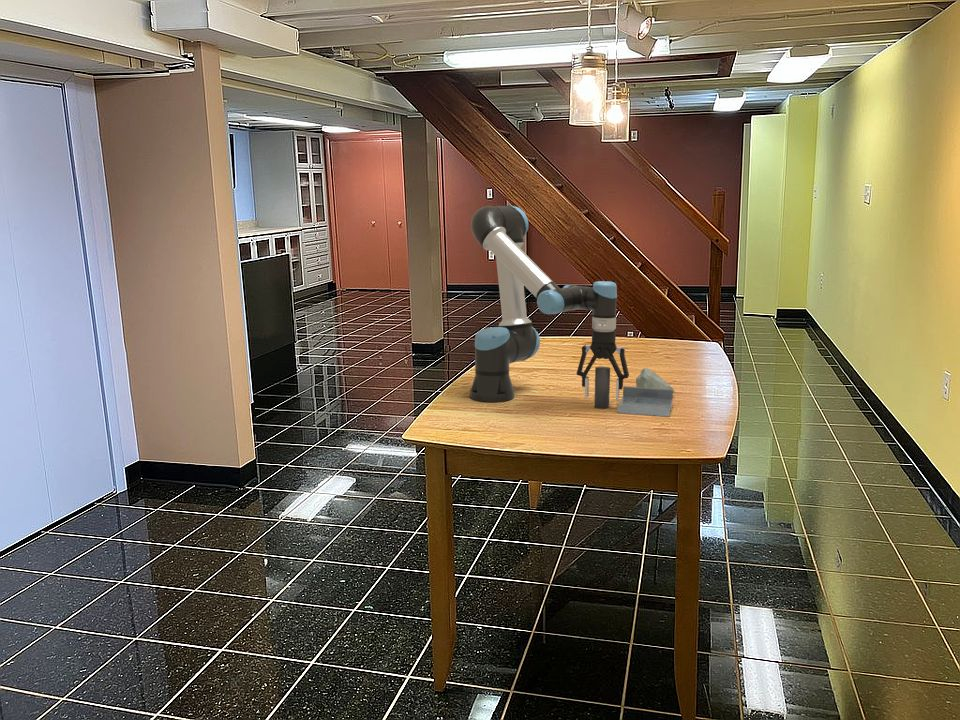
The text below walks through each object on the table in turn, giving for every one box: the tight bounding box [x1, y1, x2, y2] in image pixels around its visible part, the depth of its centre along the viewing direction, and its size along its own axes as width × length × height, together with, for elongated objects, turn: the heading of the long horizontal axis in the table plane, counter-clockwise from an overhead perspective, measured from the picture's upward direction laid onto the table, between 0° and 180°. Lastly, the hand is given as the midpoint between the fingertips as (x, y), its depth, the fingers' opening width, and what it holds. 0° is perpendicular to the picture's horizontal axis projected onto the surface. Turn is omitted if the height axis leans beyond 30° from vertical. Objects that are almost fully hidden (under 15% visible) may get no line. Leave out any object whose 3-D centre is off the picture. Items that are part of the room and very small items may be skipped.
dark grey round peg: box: [593, 365, 611, 410], centre depth 264 cm, size 5×5×13 cm
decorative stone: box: [635, 367, 675, 394], centre depth 279 cm, size 13×11×10 cm
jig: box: [617, 385, 674, 418], centre depth 262 cm, size 16×14×6 cm
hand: (601, 397), depth 265 cm, fingers open, 9 cm apart
